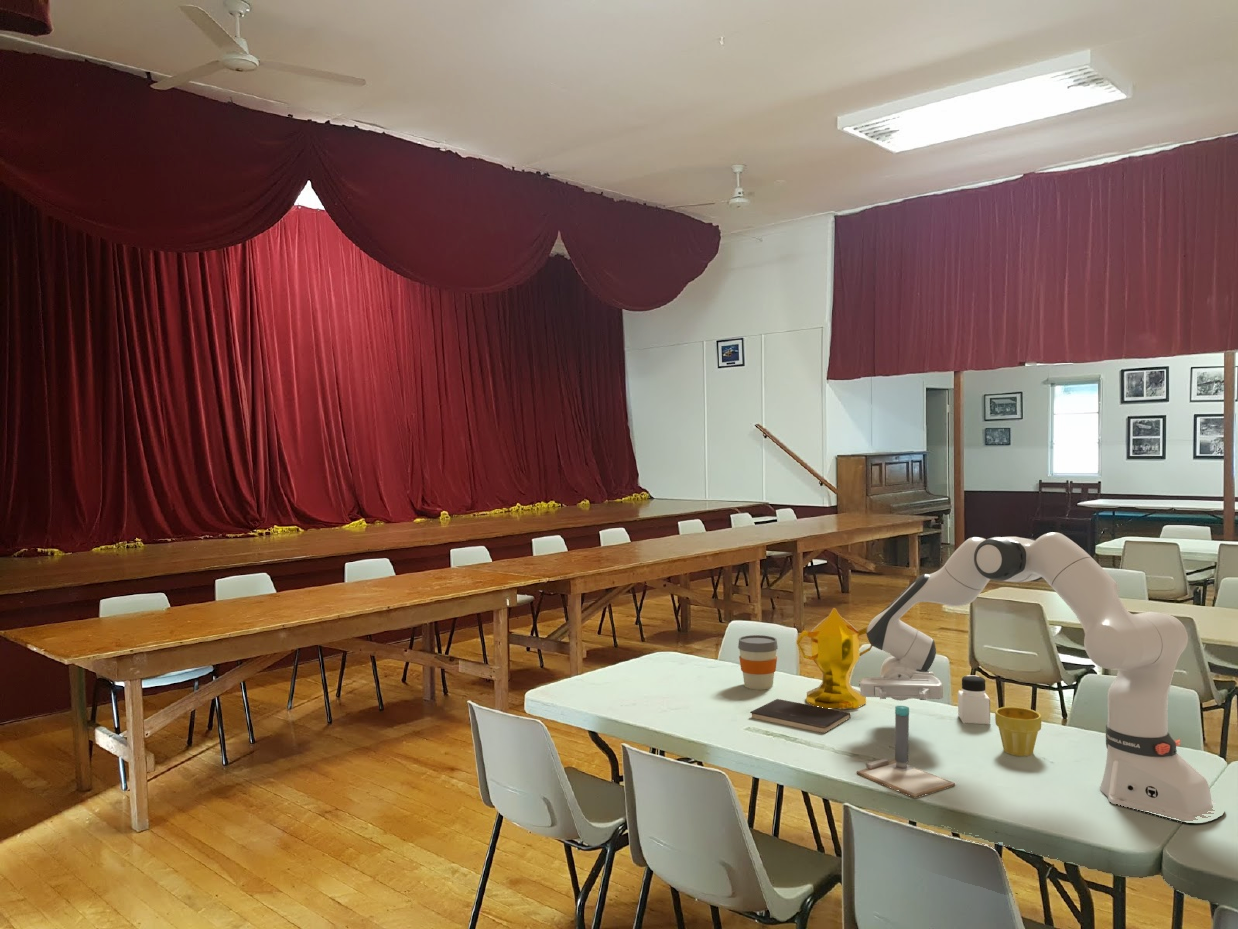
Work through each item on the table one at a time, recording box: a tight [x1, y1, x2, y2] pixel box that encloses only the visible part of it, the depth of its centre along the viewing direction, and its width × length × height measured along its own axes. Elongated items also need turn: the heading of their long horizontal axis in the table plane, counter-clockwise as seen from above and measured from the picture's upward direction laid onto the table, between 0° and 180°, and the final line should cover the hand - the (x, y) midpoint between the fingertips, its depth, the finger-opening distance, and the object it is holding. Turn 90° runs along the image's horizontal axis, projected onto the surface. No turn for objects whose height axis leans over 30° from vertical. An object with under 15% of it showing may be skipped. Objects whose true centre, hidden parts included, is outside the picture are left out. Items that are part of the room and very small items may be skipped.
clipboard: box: [856, 758, 956, 798], centre depth 197 cm, size 17×13×2 cm
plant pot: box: [994, 706, 1042, 757], centre depth 213 cm, size 10×10×10 cm
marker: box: [894, 705, 910, 768], centre depth 203 cm, size 3×3×14 cm
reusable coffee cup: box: [737, 634, 779, 691], centre depth 276 cm, size 13×13×15 cm
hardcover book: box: [749, 698, 852, 734], centre depth 243 cm, size 16×23×2 cm
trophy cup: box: [796, 607, 873, 710], centre depth 257 cm, size 18×24×28 cm
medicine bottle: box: [957, 674, 991, 725], centre depth 238 cm, size 7×7×12 cm
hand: (902, 696), depth 214 cm, fingers open, 8 cm apart
